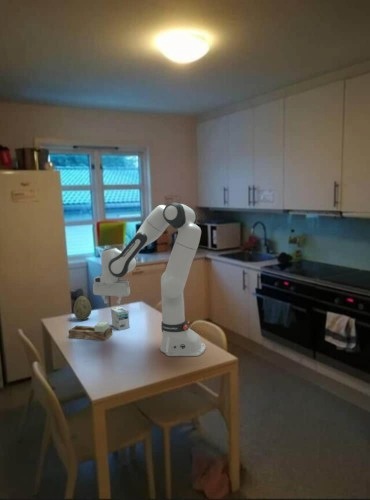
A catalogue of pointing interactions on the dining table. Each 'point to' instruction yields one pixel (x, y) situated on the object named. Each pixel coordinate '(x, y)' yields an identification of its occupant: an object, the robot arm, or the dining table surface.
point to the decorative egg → (82, 308)
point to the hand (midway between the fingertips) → (112, 303)
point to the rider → (101, 327)
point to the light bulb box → (120, 318)
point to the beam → (89, 333)
